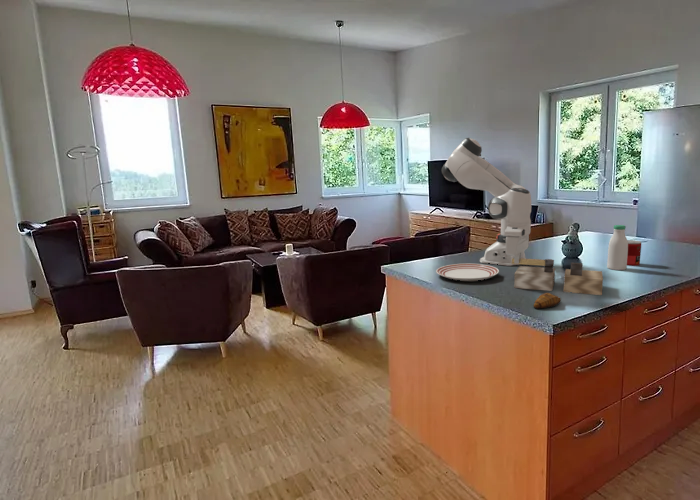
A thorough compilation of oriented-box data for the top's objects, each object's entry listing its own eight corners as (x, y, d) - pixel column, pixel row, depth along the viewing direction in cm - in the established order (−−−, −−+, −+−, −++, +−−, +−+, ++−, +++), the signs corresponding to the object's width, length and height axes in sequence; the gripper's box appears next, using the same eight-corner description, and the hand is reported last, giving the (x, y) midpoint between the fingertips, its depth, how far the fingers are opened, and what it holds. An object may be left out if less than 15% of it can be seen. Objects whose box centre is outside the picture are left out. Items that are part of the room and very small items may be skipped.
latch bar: (511, 264, 187) (511, 258, 186) (512, 262, 190) (512, 257, 189) (553, 267, 180) (553, 261, 179) (553, 265, 183) (554, 259, 182)
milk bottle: (629, 270, 204) (632, 226, 200) (610, 270, 205) (613, 226, 202) (622, 266, 211) (625, 224, 207) (604, 266, 213) (607, 224, 209)
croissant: (543, 312, 153) (544, 298, 152) (526, 307, 159) (527, 293, 158) (568, 305, 160) (568, 291, 159) (551, 300, 165) (551, 287, 165)
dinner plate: (460, 287, 187) (461, 280, 186) (424, 274, 211) (424, 267, 211) (512, 279, 197) (512, 271, 197) (472, 267, 222) (472, 260, 221)
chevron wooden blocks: (514, 287, 183) (515, 262, 181) (518, 279, 195) (519, 255, 193) (601, 295, 169) (603, 267, 167) (601, 285, 181) (602, 259, 179)
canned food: (639, 266, 210) (641, 243, 208) (619, 265, 215) (621, 242, 213) (639, 263, 217) (641, 240, 215) (620, 261, 221) (621, 239, 219)
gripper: (517, 225, 191) (516, 257, 194) (503, 232, 175) (502, 267, 177) (533, 226, 188) (532, 259, 190) (520, 233, 171) (518, 268, 174)
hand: (517, 263), depth 184 cm, fingers closed
